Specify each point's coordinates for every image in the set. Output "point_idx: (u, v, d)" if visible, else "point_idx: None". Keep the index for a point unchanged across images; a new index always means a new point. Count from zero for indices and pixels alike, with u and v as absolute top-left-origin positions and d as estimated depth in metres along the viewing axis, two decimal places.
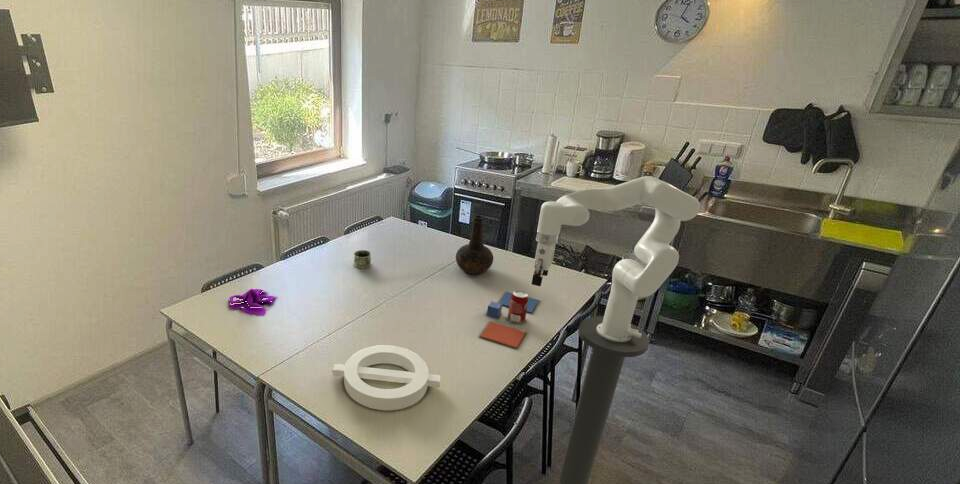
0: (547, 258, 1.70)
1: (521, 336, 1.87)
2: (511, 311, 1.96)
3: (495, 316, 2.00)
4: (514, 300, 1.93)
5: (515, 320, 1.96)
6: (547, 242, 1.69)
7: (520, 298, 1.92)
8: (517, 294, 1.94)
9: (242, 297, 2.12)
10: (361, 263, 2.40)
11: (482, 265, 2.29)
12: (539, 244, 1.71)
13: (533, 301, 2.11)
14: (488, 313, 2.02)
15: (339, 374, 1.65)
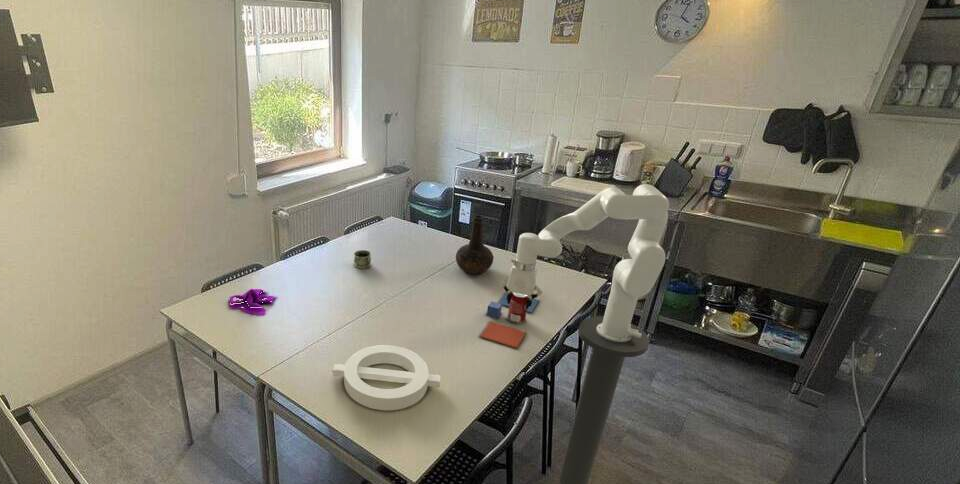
0: (509, 277, 1.92)
1: (521, 336, 1.87)
2: (511, 311, 1.96)
3: (495, 316, 2.00)
4: (514, 300, 1.93)
5: (515, 320, 1.96)
6: (514, 264, 1.90)
7: (520, 298, 1.92)
8: (517, 294, 1.94)
9: (242, 297, 2.12)
10: (361, 263, 2.40)
11: (482, 265, 2.29)
12: None
13: (533, 301, 2.11)
14: (488, 313, 2.02)
15: (339, 374, 1.65)
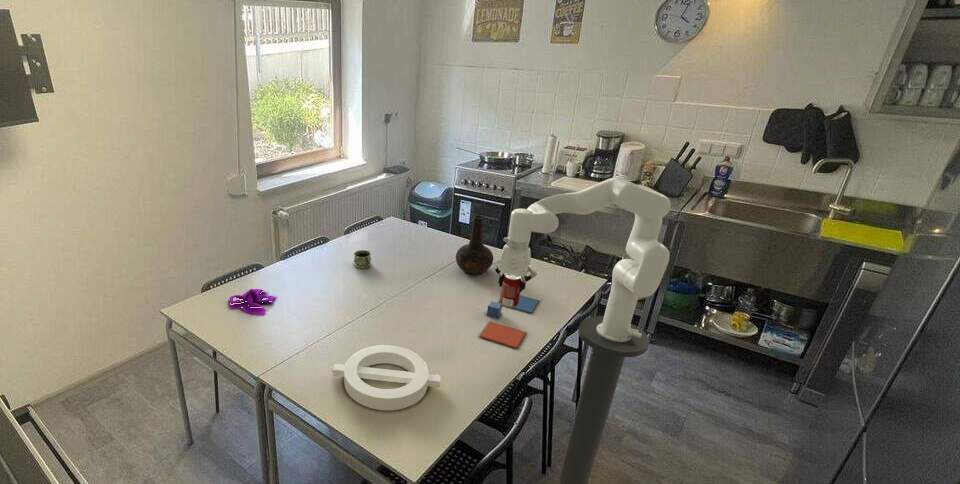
0: None
1: (521, 336, 1.87)
2: (503, 295, 1.81)
3: (495, 316, 2.00)
4: (506, 283, 1.78)
5: (507, 304, 1.81)
6: (506, 243, 1.74)
7: (513, 280, 1.77)
8: (509, 276, 1.79)
9: (242, 297, 2.12)
10: (361, 263, 2.40)
11: (482, 265, 2.29)
12: None
13: (533, 301, 2.11)
14: (488, 313, 2.02)
15: (339, 374, 1.65)
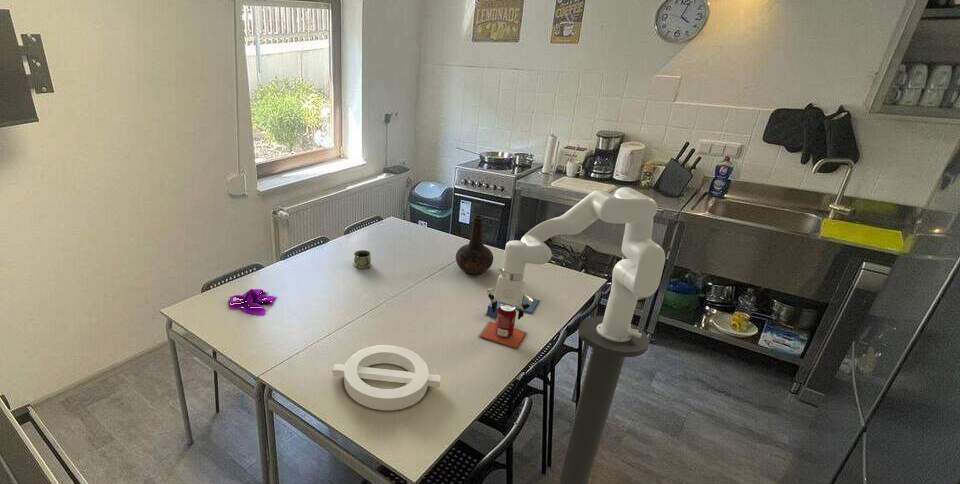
0: (495, 287, 1.81)
1: (521, 336, 1.87)
2: (498, 325, 1.85)
3: (495, 316, 2.00)
4: (501, 314, 1.83)
5: (502, 334, 1.86)
6: (501, 274, 1.79)
7: (507, 312, 1.82)
8: (504, 307, 1.84)
9: (242, 297, 2.12)
10: (361, 263, 2.40)
11: (482, 265, 2.29)
12: None
13: None
14: (488, 313, 2.02)
15: (339, 374, 1.65)
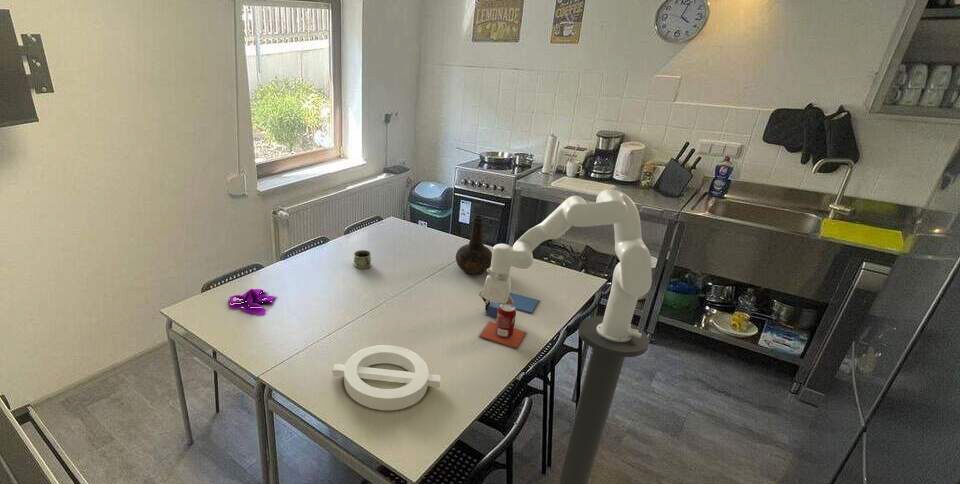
0: (484, 286, 1.98)
1: (521, 336, 1.87)
2: (498, 325, 1.85)
3: (495, 316, 2.00)
4: (501, 314, 1.83)
5: (502, 334, 1.86)
6: (489, 274, 1.96)
7: (507, 312, 1.82)
8: (504, 307, 1.84)
9: (242, 297, 2.12)
10: (361, 263, 2.40)
11: (482, 265, 2.29)
12: None
13: (533, 301, 2.11)
14: (488, 313, 2.02)
15: (339, 374, 1.65)
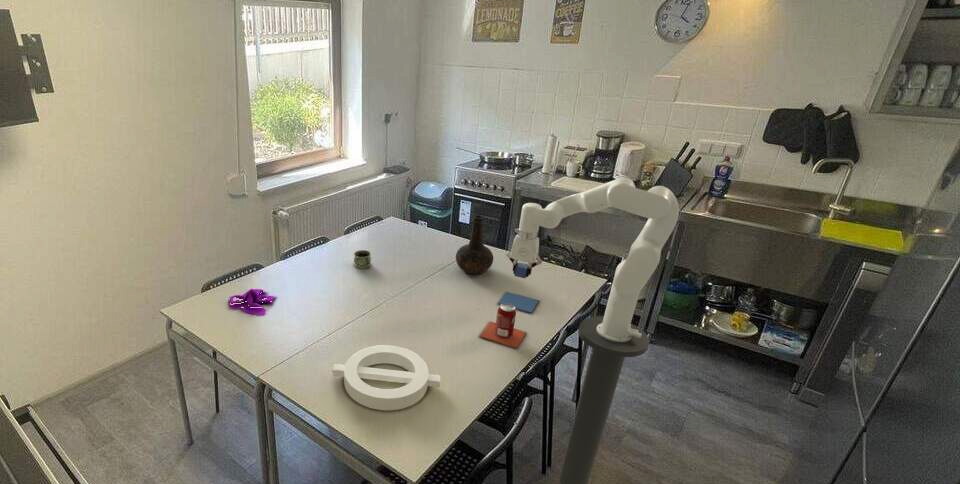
0: (512, 246, 2.00)
1: (521, 336, 1.87)
2: (498, 325, 1.85)
3: (523, 277, 2.02)
4: (501, 314, 1.83)
5: (502, 334, 1.86)
6: (517, 234, 1.98)
7: (507, 312, 1.82)
8: (504, 307, 1.84)
9: (242, 297, 2.12)
10: (361, 263, 2.40)
11: (482, 265, 2.29)
12: None
13: (533, 301, 2.11)
14: (516, 274, 2.03)
15: (339, 374, 1.65)
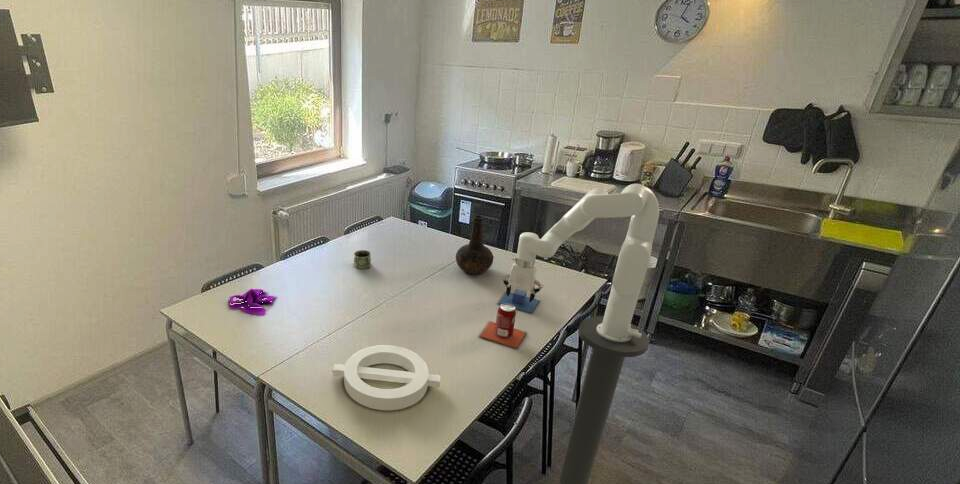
0: (510, 274, 2.06)
1: (521, 336, 1.87)
2: (498, 325, 1.85)
3: (520, 303, 2.09)
4: (501, 314, 1.83)
5: (502, 334, 1.86)
6: (515, 262, 2.04)
7: (507, 312, 1.82)
8: (504, 307, 1.84)
9: (242, 297, 2.12)
10: (361, 263, 2.40)
11: (482, 265, 2.29)
12: None
13: (533, 301, 2.11)
14: (513, 300, 2.10)
15: (339, 374, 1.65)
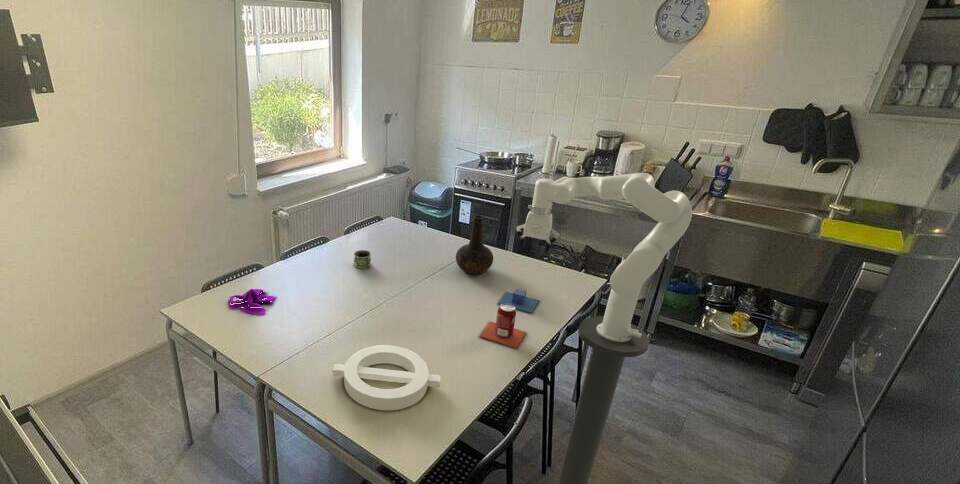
0: (525, 223, 1.99)
1: (521, 336, 1.87)
2: (498, 325, 1.85)
3: (520, 303, 2.09)
4: (501, 314, 1.83)
5: (502, 334, 1.86)
6: None
7: (507, 312, 1.82)
8: (504, 307, 1.84)
9: (242, 297, 2.12)
10: (361, 263, 2.40)
11: (482, 265, 2.29)
12: None
13: (533, 301, 2.11)
14: (513, 300, 2.10)
15: (339, 374, 1.65)
